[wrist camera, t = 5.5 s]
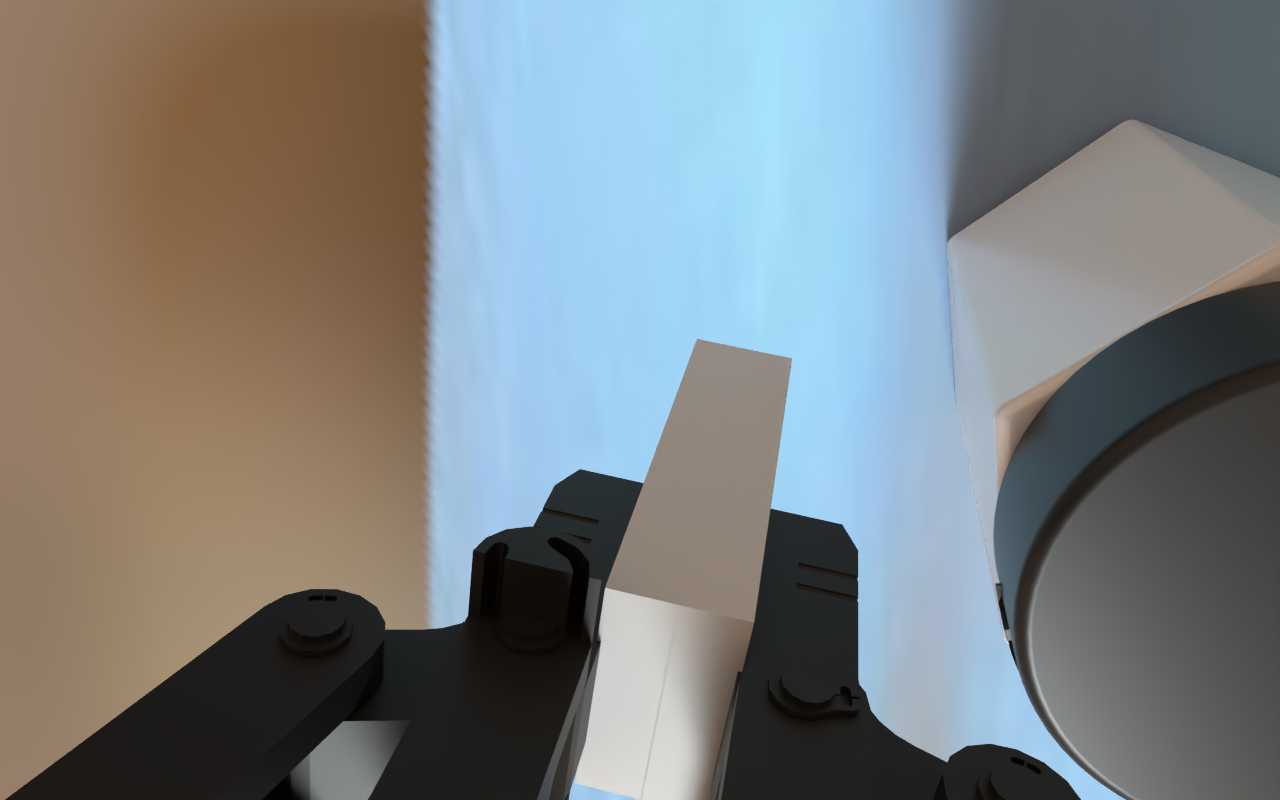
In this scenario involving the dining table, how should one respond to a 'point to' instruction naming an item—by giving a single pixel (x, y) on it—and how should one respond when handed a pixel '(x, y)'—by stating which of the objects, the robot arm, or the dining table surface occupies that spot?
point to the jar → (1133, 456)
